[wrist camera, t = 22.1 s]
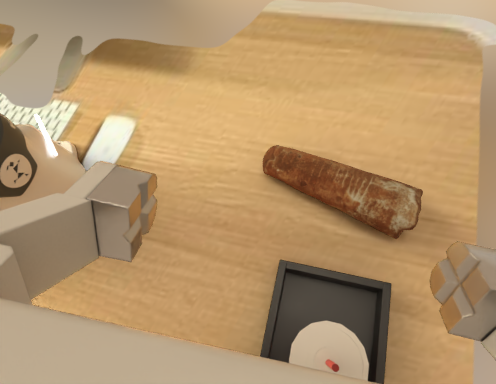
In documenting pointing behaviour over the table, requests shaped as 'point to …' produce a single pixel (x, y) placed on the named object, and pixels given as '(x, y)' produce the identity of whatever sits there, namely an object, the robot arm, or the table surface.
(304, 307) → the tray
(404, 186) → the bread
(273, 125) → the table surface
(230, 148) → the table surface
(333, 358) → the beverage cup
